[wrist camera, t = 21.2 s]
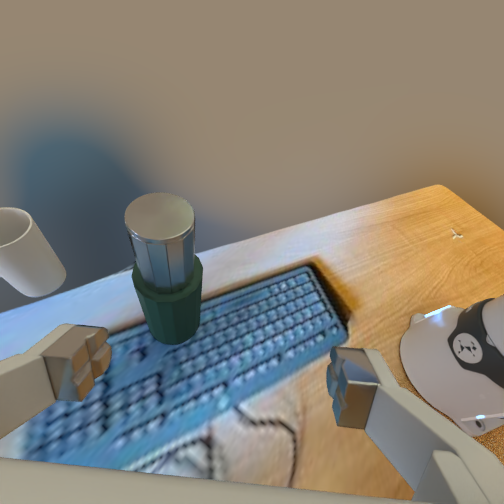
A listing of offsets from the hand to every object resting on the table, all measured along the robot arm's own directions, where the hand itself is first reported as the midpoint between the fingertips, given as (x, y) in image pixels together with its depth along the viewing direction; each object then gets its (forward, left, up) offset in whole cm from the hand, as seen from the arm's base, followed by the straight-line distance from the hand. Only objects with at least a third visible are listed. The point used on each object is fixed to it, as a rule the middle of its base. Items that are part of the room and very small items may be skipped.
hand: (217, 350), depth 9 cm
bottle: (+4, -13, -30) cm, 33 cm away
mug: (+26, -19, -30) cm, 44 cm away
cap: (+4, -13, -16) cm, 21 cm away
